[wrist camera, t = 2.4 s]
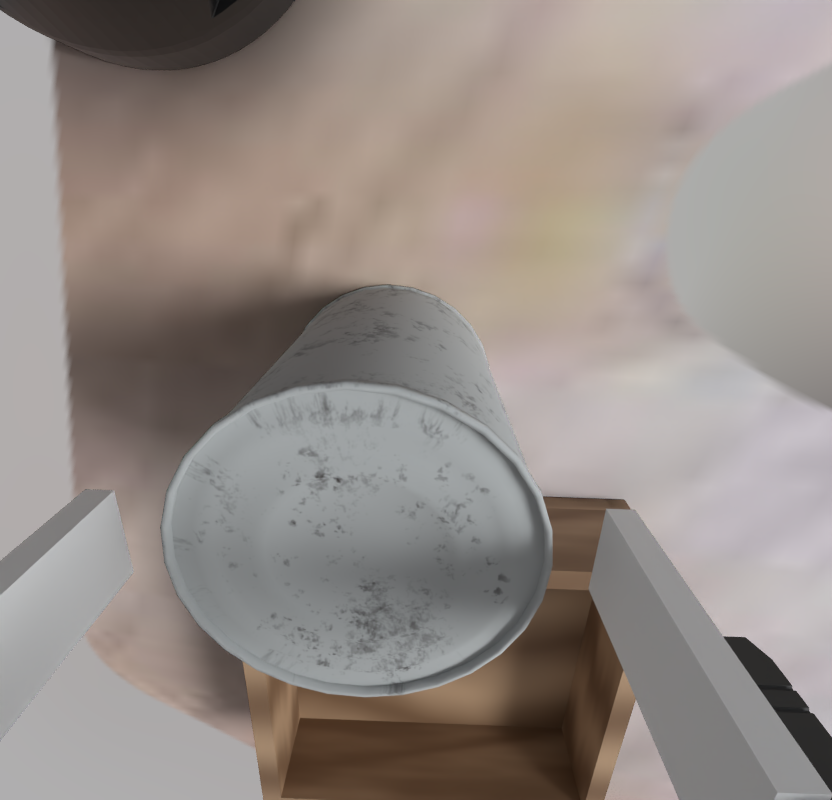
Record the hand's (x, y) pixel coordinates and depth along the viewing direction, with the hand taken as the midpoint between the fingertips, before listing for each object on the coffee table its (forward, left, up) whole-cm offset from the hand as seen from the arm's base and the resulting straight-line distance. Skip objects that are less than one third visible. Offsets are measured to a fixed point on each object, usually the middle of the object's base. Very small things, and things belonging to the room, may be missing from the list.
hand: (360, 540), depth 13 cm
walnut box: (+15, +3, -11) cm, 19 cm away
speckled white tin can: (0, 0, -11) cm, 11 cm away
